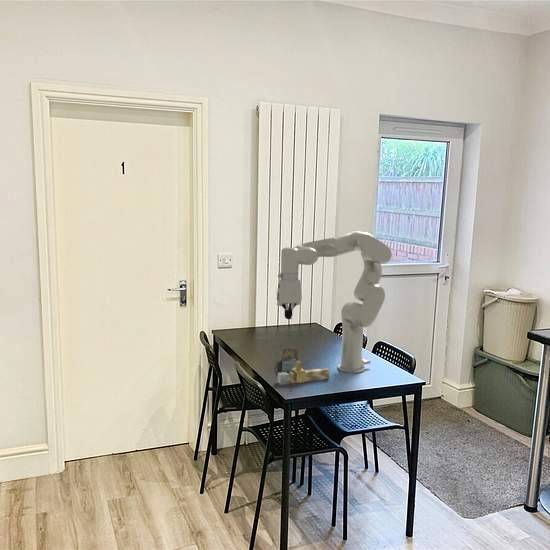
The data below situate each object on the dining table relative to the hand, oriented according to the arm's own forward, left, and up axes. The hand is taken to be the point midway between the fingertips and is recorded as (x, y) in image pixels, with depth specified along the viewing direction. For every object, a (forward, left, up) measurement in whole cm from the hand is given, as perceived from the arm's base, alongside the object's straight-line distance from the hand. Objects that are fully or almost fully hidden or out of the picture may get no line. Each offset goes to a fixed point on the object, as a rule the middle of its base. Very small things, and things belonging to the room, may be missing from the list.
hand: (288, 318), depth 237 cm
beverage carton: (-8, -14, -27) cm, 32 cm away
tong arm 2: (-8, +7, -27) cm, 29 cm away
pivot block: (+4, +6, -27) cm, 28 cm away
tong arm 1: (-8, +5, -27) cm, 28 cm away
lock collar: (-3, +6, -27) cm, 28 cm away
